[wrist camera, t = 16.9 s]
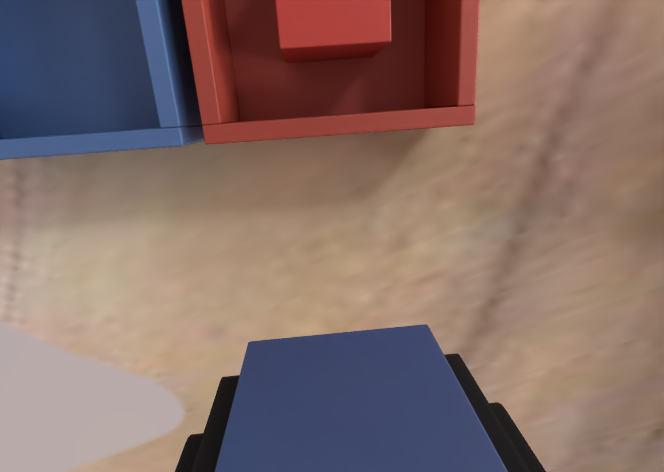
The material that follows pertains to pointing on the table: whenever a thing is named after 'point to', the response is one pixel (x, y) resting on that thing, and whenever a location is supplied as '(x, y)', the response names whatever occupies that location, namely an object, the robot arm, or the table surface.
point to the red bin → (331, 74)
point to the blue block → (353, 407)
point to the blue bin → (95, 77)
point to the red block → (332, 29)
